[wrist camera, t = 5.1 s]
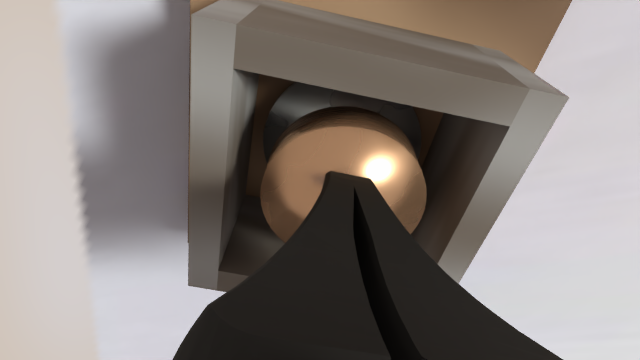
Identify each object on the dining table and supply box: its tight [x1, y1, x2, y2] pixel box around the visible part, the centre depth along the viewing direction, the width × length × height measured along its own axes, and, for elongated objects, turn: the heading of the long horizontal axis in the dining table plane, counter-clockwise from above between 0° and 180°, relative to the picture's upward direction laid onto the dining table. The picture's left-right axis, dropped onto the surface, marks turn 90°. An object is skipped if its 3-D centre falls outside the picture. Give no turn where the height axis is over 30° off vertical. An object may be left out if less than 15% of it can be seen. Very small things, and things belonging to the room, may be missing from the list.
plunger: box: [260, 82, 427, 243], centre depth 13 cm, size 6×6×4 cm
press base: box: [188, 0, 572, 292], centre depth 13 cm, size 14×12×6 cm
